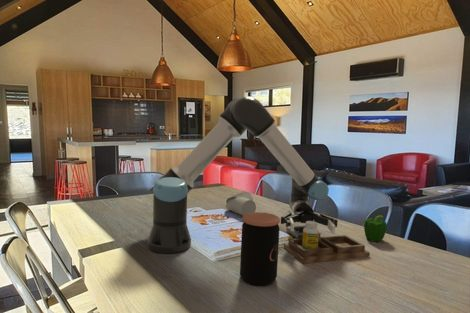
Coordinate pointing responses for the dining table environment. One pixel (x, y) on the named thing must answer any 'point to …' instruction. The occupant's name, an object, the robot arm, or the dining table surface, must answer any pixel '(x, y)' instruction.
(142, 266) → the dining table surface
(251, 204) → the l-shaped cylinder
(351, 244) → the walnut rack
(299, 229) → the can holder
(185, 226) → the robot arm
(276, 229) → the coffee jar
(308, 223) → the supplement bottle
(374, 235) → the bell pepper
